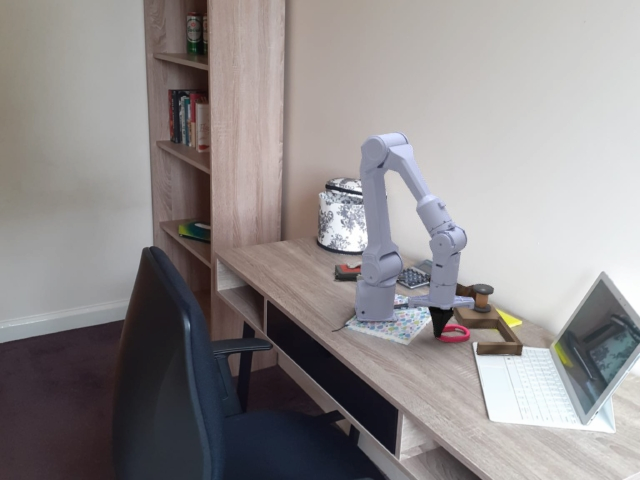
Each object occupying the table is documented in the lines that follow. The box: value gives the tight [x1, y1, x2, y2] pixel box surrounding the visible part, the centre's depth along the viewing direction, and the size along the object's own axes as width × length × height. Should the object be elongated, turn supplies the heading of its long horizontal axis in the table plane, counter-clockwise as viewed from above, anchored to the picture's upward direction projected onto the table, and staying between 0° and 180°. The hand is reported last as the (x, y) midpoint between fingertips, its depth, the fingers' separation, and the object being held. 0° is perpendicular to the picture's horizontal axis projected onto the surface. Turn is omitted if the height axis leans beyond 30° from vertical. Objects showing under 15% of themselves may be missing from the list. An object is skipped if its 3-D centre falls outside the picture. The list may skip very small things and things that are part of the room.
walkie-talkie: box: [334, 260, 407, 282], centre depth 167 cm, size 9×4×20 cm
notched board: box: [453, 303, 524, 356], centre depth 139 cm, size 10×20×2 cm, turn 4°
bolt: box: [428, 274, 477, 302], centre depth 158 cm, size 6×5×15 cm
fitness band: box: [437, 324, 471, 343], centre depth 137 cm, size 8×6×2 cm
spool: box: [472, 283, 495, 313], centre depth 145 cm, size 5×5×6 cm
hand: (436, 335), depth 135 cm, fingers closed
